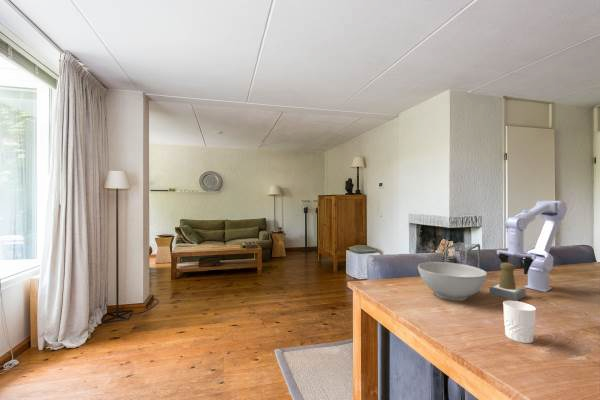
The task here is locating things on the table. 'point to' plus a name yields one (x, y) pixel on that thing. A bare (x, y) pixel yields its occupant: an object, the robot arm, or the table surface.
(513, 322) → the white cup
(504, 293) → the plinth
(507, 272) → the cork
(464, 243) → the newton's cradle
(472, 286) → the decorative bowl
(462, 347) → the table surface
